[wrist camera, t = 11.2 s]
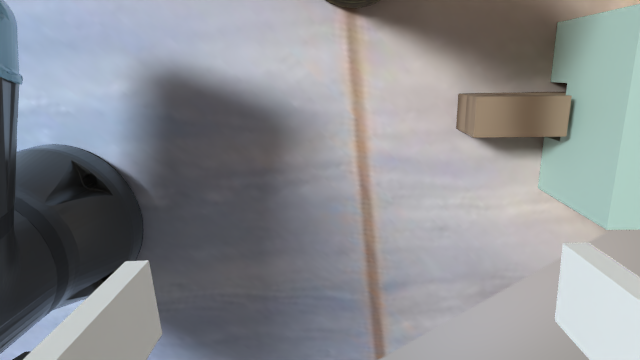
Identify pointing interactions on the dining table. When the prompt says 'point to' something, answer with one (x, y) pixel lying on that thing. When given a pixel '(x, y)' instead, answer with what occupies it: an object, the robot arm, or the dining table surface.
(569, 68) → the plate
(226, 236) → the dining table surface
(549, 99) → the slotted rail
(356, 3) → the container
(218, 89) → the dining table surface
